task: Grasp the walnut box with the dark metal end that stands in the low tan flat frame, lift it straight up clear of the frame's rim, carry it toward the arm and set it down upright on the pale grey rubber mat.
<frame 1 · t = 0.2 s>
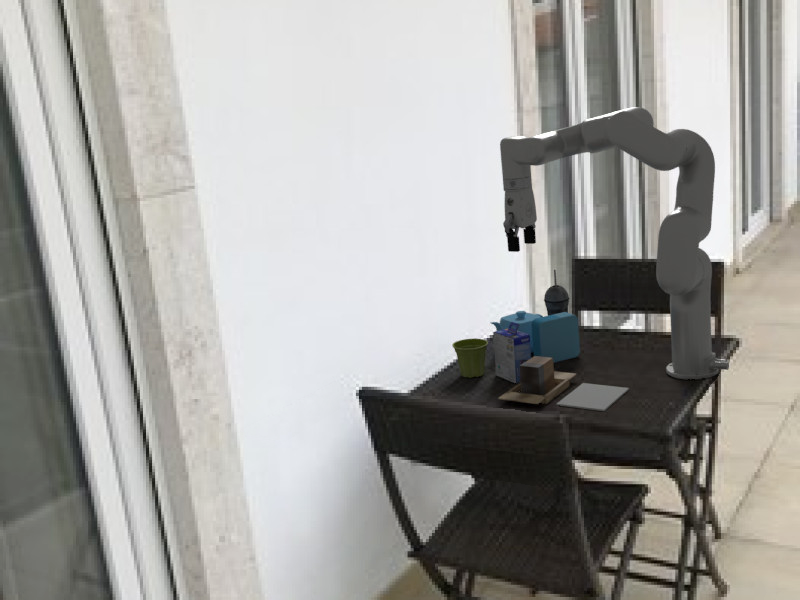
hand: (522, 247, 259), 31 cm above the table, tool pointing down, fingers open, 9 cm apart
plant pot: (473, 375, 258), on the table
walnut box: (537, 377, 238), in the tan flat frame
tan flat frame: (538, 392, 239), on the table
teapot: (520, 352, 272), on the table
beverage cup: (559, 338, 281), on the table
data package: (557, 359, 263), on the table
ink cartridge box: (514, 378, 251), on the table
mat: (593, 397, 232), on the table
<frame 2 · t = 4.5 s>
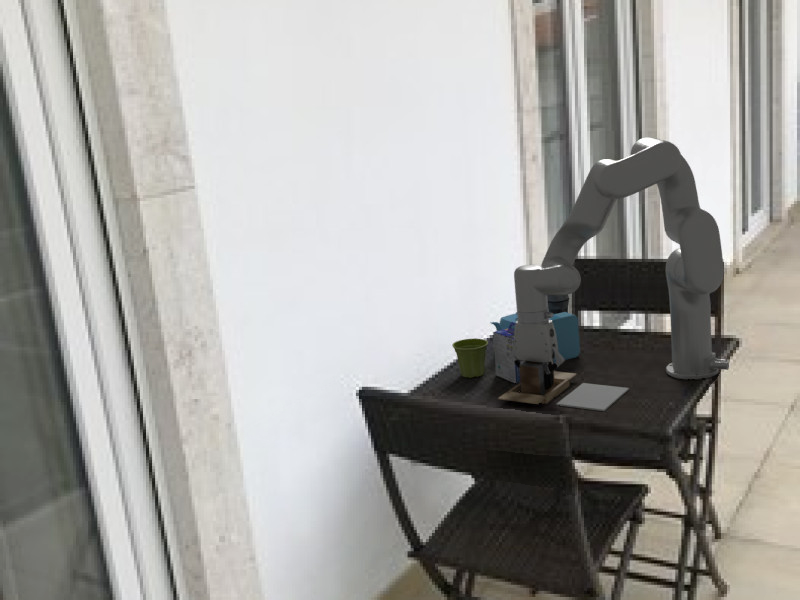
hand: (538, 386, 238), 2 cm above the table, tool pointing down, fingers closed on walnut box, 5 cm apart
walnut box: (537, 376, 238), in the tan flat frame, touching gripper
everything else where it was.
when the fingers open (3 cm above the table, at t = 11.5 s): walnut box stays where it is, resting on mat.
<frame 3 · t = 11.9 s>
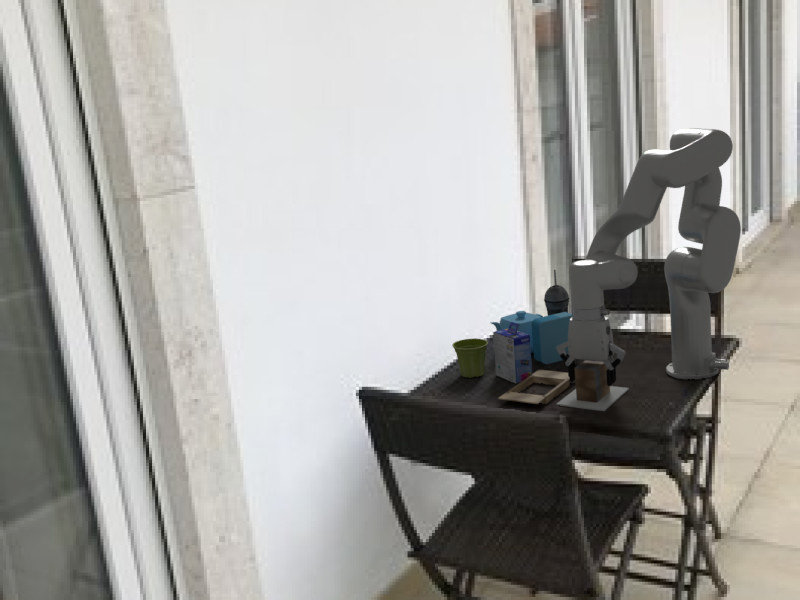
hand: (592, 382, 231), 4 cm above the table, tool pointing down, fingers open, 9 cm apart
walnut box: (592, 379, 231), on the mat
everything else where it was.
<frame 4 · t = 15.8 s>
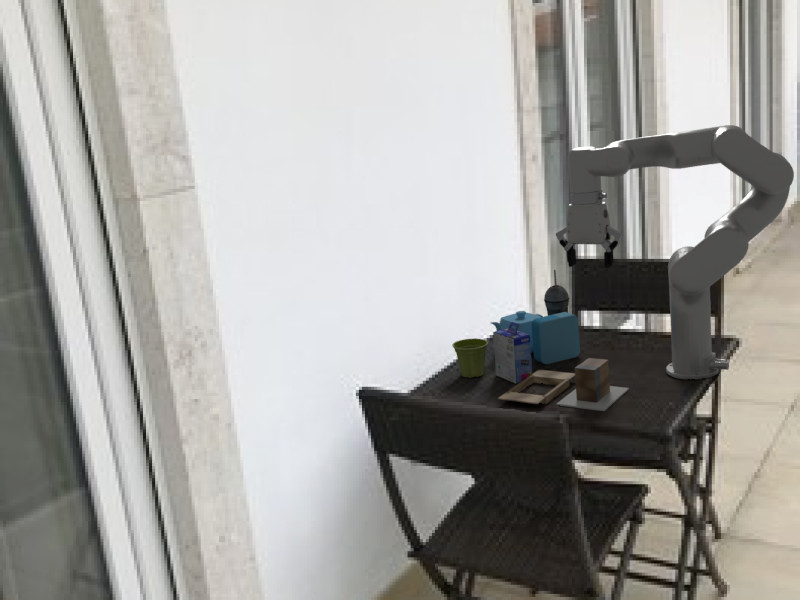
hand: (590, 266, 241), 28 cm above the table, tool pointing down, fingers open, 9 cm apart
nothing on the table moved.
at the end: walnut box inside the target area (0.1 cm from its centre), resting on mat; walnut box tilted 0°; the gripper is holding nothing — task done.
